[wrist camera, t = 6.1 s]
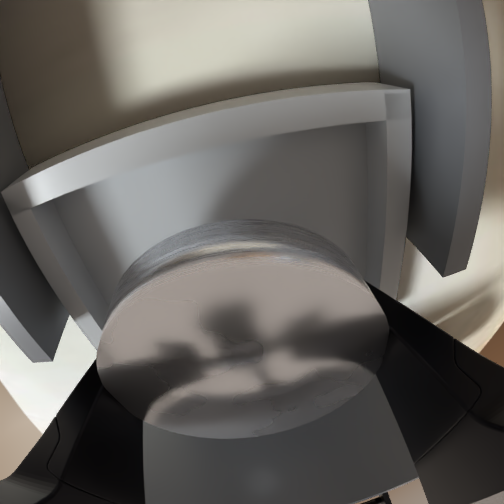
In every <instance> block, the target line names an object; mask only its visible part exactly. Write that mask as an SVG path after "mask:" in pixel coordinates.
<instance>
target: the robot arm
mask: <svg viewBox="0 0 504 504" xmlns="http://www.w3.org/2000/svg"><path fill="white" fill-rule="evenodd" d="M365 282H366V284H367V285H368V287H369V289H370V290H371V292H372V294H373V295H374V297H375V298H376V300H377V302H378V303H379V305H380V307H381V309H382V310H383V312H384V314H385V316H386V318H387V322H388V325H389V336H388V341H387V345H386V349H385V352H384V356H383V360H382V364H381V366H380V368H379V370H378V371H377V373H376V376H377V379H378V381H379V383H380V385H381V387H382V390H383V392H384V394H385V396H386V398H387V401H388V403H389V405H390V408H391V410H392V412H393V414H394V417H395V419H396V421H397V424H398V426H399V428H400V431H401V433H402V436H403V438H404V440H405V443H406V445H407V448H408V450H409V453H410V455H411V458H412V460H413V463H415V464H414V466H415V468H416V471H417V473H418V476H419V479H420V481H421V484H422V486H423V489H424V492H425V495H426V498H427V500H428V503H429V504H504V367H502V366H500V365H498V364H496V363H494V362H493V361H491V360H489V359H487V358H486V357H484V356H482V355H480V354H479V353H477V352H475V351H474V350H472V349H471V348H469V347H468V346H466V345H464V344H463V343H461V342H460V341H458V340H457V339H454V338H453V337H452V336H451V335H449V334H448V333H446V332H445V331H443V330H442V329H440V328H439V327H437V326H436V325H434V324H433V323H431V322H429V321H428V320H426V319H425V318H423V317H422V316H420V315H419V314H417V313H416V312H414V311H413V310H411V309H409V308H408V307H406V306H405V305H403V304H402V303H400V302H398V301H397V300H395V299H394V298H392V297H391V296H389V295H387V294H386V293H384V292H383V291H381V290H379V289H378V288H376V287H375V286H373V285H371V284H370V283H368V282H367V281H365ZM96 360H97V358H96ZM96 360H95V361H94V362H93V364H92V365H91V366H90V368H89V369H88V370H87V372H86V373H85V375H84V376H83V377H82V379H81V380H80V382H79V383H78V384H77V386H76V387H75V389H74V390H73V391H72V393H71V394H70V396H69V397H68V399H67V400H66V401H65V403H64V404H63V406H62V407H61V409H60V410H59V412H58V413H57V415H56V417H54V419H53V420H52V422H51V423H50V425H49V426H48V428H47V429H46V431H45V432H44V434H43V435H42V437H41V438H40V439H39V441H38V442H37V443H36V444H35V446H34V447H33V448H32V450H31V451H30V452H29V454H28V455H27V456H26V457H25V459H24V460H23V461H22V463H21V464H20V465H19V466H18V468H17V469H16V470H15V471H14V472H13V473H12V474H11V475H10V476H9V477H7V478H6V479H3V480H1V481H0V504H145V488H144V466H143V420H141V419H139V418H137V417H135V416H134V415H132V414H131V413H130V412H129V411H128V410H127V409H126V408H125V407H124V406H123V405H122V404H121V403H120V402H118V401H117V400H116V399H115V398H114V397H113V396H112V395H111V394H110V393H109V392H108V391H107V390H106V389H105V387H104V386H103V384H102V381H101V379H100V377H99V374H98V369H97V364H96ZM361 504H392V503H391V500H390V498H389V495H388V492H385V493H383V494H380V495H379V497H378V498H375V499H372V500H370V501H367V502H364V503H361Z"/></svg>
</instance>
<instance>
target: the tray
mask: <svg viewBox="0 0 504 504" xmlns="http://www.w3.org/2000/svg"><path fill="white" fill-rule="evenodd" d="M411 156H412V121H411V96H410V89H406V88H402V87H397V86H392V85H387V84H381V83H376V82H362V83H344V84H331V85H320V86H310V87H301V88H293V89H286V90H279V91H272V92H266V93H260V94H255V95H249V96H244V97H239V98H234V99H229V100H224V101H220V102H215V103H211V104H206V105H202V106H198V107H194V108H190V109H187V110H183V111H179V112H175V113H172V114H168V115H165V116H162V117H158V118H155V119H152V120H148V121H145V122H142V123H139V124H136V125H133V126H130V127H127V128H124V129H122V130H119V131H116V132H113V133H110V134H108V135H105V136H102V137H100V138H97V139H95V140H92V141H90V142H87V143H85V144H82V145H80V146H78V147H75V148H73V149H71V150H68V151H66V152H64V153H61V154H59V155H57V156H55V157H53V158H51V159H48V160H46V161H44V162H42V163H40V164H38V165H36V166H34V167H32V168H31V169H30V170H28V171H27V172H26V173H24V174H23V175H22V176H20V177H19V178H18V179H16V180H15V181H14V182H13V183H11V184H10V185H9V186H8V187H6V188H5V189H4V190H3V191H2V192H1V194H2V196H3V198H4V200H5V203H6V205H7V207H8V209H9V211H10V213H11V216H12V218H13V220H14V222H15V224H16V226H17V228H18V230H19V232H20V234H21V235H22V237H23V239H24V241H25V243H26V245H27V247H28V249H29V250H30V252H31V254H32V256H33V257H34V259H35V261H36V263H37V264H38V266H39V268H40V269H41V271H42V273H43V274H44V276H45V278H46V279H47V281H48V282H49V284H50V286H51V287H52V289H53V290H54V292H55V293H56V295H57V296H58V298H59V299H60V301H61V302H62V304H63V305H64V307H65V308H66V310H67V311H68V313H69V314H70V315H71V317H72V318H73V320H74V321H75V322H76V324H77V325H78V326H79V328H80V329H81V331H82V332H83V333H84V335H85V336H86V337H87V338H88V340H89V341H90V342H91V344H92V345H93V346H94V347H95V349H96V350H97V349H98V345H99V341H100V338H101V334H102V330H103V327H104V323H105V319H106V316H107V313H108V309H109V306H110V303H111V299H112V296H113V293H114V291H115V288H116V286H117V284H118V282H119V280H120V279H121V277H122V275H123V274H124V272H125V271H126V270H127V269H128V268H129V266H130V265H131V264H132V263H133V262H134V261H135V260H136V259H137V258H138V257H139V256H141V255H142V254H143V253H144V252H145V251H146V250H148V249H149V248H151V247H152V246H154V245H156V244H157V243H159V242H160V241H162V240H164V239H166V238H168V237H170V236H172V235H175V234H177V233H179V232H181V231H183V230H187V229H190V228H193V227H196V226H200V225H203V224H207V223H213V222H219V221H225V220H236V219H261V220H274V221H279V222H284V223H289V224H293V225H297V226H300V227H302V228H305V229H308V230H311V231H314V232H315V233H317V234H319V235H321V236H323V237H325V238H327V239H329V240H330V241H331V242H333V243H334V244H335V245H337V246H338V247H339V248H340V249H342V250H343V251H344V253H345V254H346V255H347V256H348V257H349V258H350V259H351V260H352V262H353V263H354V265H355V266H356V268H357V270H358V271H359V273H360V274H361V276H362V277H363V279H364V281H367V282H368V283H370V284H371V285H373V286H375V287H376V288H378V289H379V290H381V291H383V292H384V293H386V294H387V295H389V296H391V297H392V298H394V299H395V300H396V298H397V292H398V287H399V281H400V275H401V269H402V262H403V255H404V248H405V240H406V231H407V222H408V211H409V198H410V183H411ZM414 464H415V463H413V460H412V458H411V455H410V453H409V450H408V448H407V445H406V443H405V440H404V438H403V436H402V433H401V431H400V428H399V426H398V424H397V421H396V419H395V417H394V414H393V412H392V410H391V408H390V405H389V403H388V401H387V398H386V396H385V394H384V392H383V390H382V387H381V385H380V383H379V381H378V379H377V376H376V374H375V375H374V377H373V378H372V379H371V380H370V382H369V383H368V384H367V385H366V386H365V387H364V388H363V389H362V390H361V391H360V392H359V393H357V394H356V395H355V396H354V397H353V398H351V399H350V400H349V401H347V402H346V403H345V404H343V405H342V406H340V407H339V408H337V409H335V410H334V411H332V412H330V413H328V414H326V415H324V416H323V417H321V418H318V419H316V420H314V421H312V422H309V423H307V424H304V425H301V426H299V427H296V428H293V429H289V430H286V431H282V432H278V433H274V434H269V435H263V436H257V437H249V438H235V439H216V438H203V437H195V436H189V435H183V434H179V433H175V432H171V431H168V430H165V429H162V428H159V427H156V426H154V425H151V424H149V423H147V422H145V421H143V466H144V488H145V504H354V503H357V502H360V501H363V500H366V499H369V498H372V497H375V496H377V495H380V494H383V493H385V492H388V491H390V490H393V489H395V488H398V487H400V486H403V485H405V484H407V483H409V482H412V481H414V480H416V479H418V478H419V476H418V473H417V471H416V468H415V466H414Z"/></svg>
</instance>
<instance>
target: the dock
mask: <svg viewBox="0 0 504 504" xmlns="http://www.w3.org/2000/svg"><path fill="white" fill-rule="evenodd" d="M368 2H369V7H370V12H371V17H372V23H373V29H374V35H375V42H376V49H377V56H378V64H379V73H380V83H381V84H387V85H392V86H397V87H402V88H406V89H410V96H411V121H412V156H411V183H410V198H409V211H408V222H407V231H406V237H407V238H408V239H409V240H410V241H411V242H412V243H413V244H414V245H415V246H416V248H417V249H418V250H419V251H420V252H421V253H422V254H423V255H424V256H425V258H426V259H427V260H428V261H429V262H430V263H431V264H432V265H433V267H434V268H435V269H436V270H437V271H438V272H439V274H440V275H441V276H442V277H446V276H449V275H451V274H454V273H457V272H460V271H462V270H465V269H466V267H467V264H468V260H469V257H470V253H471V249H472V246H473V242H474V238H475V233H476V229H477V225H478V220H479V215H480V210H481V205H482V199H483V194H484V188H485V181H486V174H487V166H488V157H489V146H490V133H491V108H492V89H491V65H490V52H489V42H488V33H487V26H486V20H485V14H484V8H483V3H482V0H368ZM28 170H29V169H28V166H27V164H26V161H25V158H24V156H23V153H22V150H21V147H20V144H19V141H18V139H17V135H16V132H15V129H14V126H13V123H12V119H11V116H10V113H9V109H8V105H7V102H6V98H5V94H4V90H3V86H2V81H1V77H0V325H1V326H2V328H3V329H4V330H5V331H6V333H7V334H8V335H9V336H10V337H11V339H12V340H13V341H14V342H15V343H16V345H17V346H18V347H19V348H20V349H21V350H22V351H23V352H24V354H25V355H26V356H27V357H28V358H29V359H30V360H31V361H32V362H33V363H35V362H49V361H53V359H54V356H55V353H56V350H57V347H58V344H59V341H60V339H61V336H62V333H63V330H64V328H65V325H66V322H67V320H68V317H69V315H70V314H69V313H68V311H67V310H66V308H65V307H64V305H63V304H62V302H61V301H60V299H59V298H58V296H57V295H56V293H55V292H54V290H53V289H52V287H51V286H50V284H49V282H48V281H47V279H46V278H45V276H44V274H43V273H42V271H41V269H40V268H39V266H38V264H37V263H36V261H35V259H34V257H33V256H32V254H31V252H30V250H29V249H28V247H27V245H26V243H25V241H24V239H23V237H22V235H21V234H20V232H19V230H18V228H17V226H16V224H15V222H14V220H13V218H12V216H11V213H10V211H9V209H8V207H7V205H6V203H5V200H4V198H3V196H2V194H1V192H2V191H3V190H4V189H5V188H6V187H8V186H9V185H10V184H11V183H13V182H14V181H15V180H16V179H18V178H19V177H20V176H22V175H23V174H24V173H26V172H27V171H28Z"/></svg>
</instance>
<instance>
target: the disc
mask: <svg viewBox="0 0 504 504" xmlns="http://www.w3.org/2000/svg"><path fill="white" fill-rule="evenodd" d="M388 336H389V325H388V322H387V318H386V316H385V314H384V312H383V310H382V309H381V307H380V305H379V303H378V302H377V300H376V298H375V297H374V295H373V294H372V292H371V290H370V289H369V287H368V285H367V284H366V282H365V281H364V279H363V277H362V276H361V274H360V273H359V271H358V270H357V268H356V266H355V265H354V263H353V262H352V260H351V259H350V258H349V257H348V256H347V255H346V254H345V253H344V251H343V250H342V249H340V248H339V247H338V246H337V245H335V244H334V243H333V242H331V241H330V240H329V239H327V238H325V237H323V236H321V235H319V234H317V233H315V232H314V231H311V230H308V229H305V228H302V227H300V226H297V225H293V224H289V223H284V222H279V221H274V220H261V219H236V220H225V221H219V222H213V223H207V224H203V225H200V226H196V227H193V228H190V229H187V230H183V231H181V232H179V233H177V234H175V235H172V236H170V237H168V238H166V239H164V240H162V241H160V242H159V243H157V244H156V245H154V246H152V247H151V248H149V249H148V250H146V251H145V252H144V253H143V254H142V255H141V256H139V257H138V258H137V259H136V260H135V261H134V262H133V263H132V264H131V265H130V266H129V268H128V269H127V270H126V271H125V272H124V274H123V275H122V277H121V279H120V280H119V282H118V284H117V286H116V288H115V291H114V293H113V296H112V299H111V303H110V306H109V309H108V313H107V316H106V319H105V323H104V327H103V330H102V334H101V338H100V341H99V345H98V349H97V360H96V364H97V369H98V374H99V377H100V379H101V381H102V384H103V386H104V387H105V389H106V390H107V391H108V392H109V393H110V394H111V395H112V396H113V397H114V398H115V399H116V400H117V401H118V402H120V403H121V404H122V405H123V406H124V407H125V408H126V409H127V410H128V411H129V412H130V413H131V414H132V415H134V416H135V417H137V418H139V419H141V420H143V421H145V422H147V423H149V424H151V425H154V426H156V427H159V428H162V429H165V430H168V431H171V432H175V433H179V434H183V435H189V436H195V437H203V438H216V439H235V438H249V437H257V436H263V435H269V434H274V433H278V432H282V431H286V430H289V429H293V428H296V427H299V426H301V425H304V424H307V423H309V422H312V421H314V420H316V419H318V418H321V417H323V416H324V415H326V414H328V413H330V412H332V411H334V410H335V409H337V408H339V407H340V406H342V405H343V404H345V403H346V402H347V401H349V400H350V399H351V398H353V397H354V396H355V395H356V394H357V393H359V392H360V391H361V390H362V389H363V388H364V387H365V386H366V385H367V384H368V383H369V382H370V380H371V379H372V378H373V377H374V375H375V374H376V373H377V371H378V370H379V368H380V366H381V364H382V360H383V356H384V352H385V349H386V345H387V341H388Z"/></svg>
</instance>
